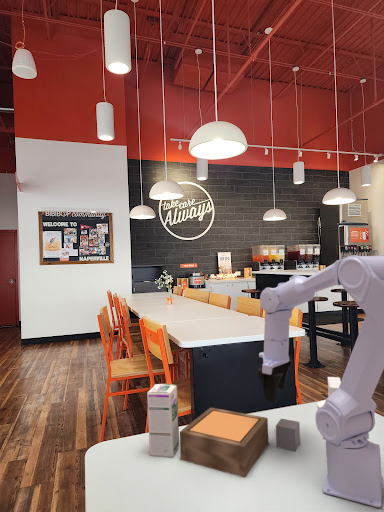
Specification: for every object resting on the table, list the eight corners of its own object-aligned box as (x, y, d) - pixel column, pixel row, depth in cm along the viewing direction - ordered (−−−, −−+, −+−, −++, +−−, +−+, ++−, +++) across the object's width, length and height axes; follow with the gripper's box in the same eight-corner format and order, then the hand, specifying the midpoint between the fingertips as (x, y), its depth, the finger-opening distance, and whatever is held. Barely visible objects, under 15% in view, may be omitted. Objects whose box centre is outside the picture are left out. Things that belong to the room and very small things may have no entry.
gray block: (300, 443, 83) (299, 421, 83) (295, 451, 79) (294, 429, 79) (281, 439, 85) (280, 418, 85) (276, 447, 81) (275, 425, 81)
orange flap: (258, 423, 82) (258, 419, 82) (239, 446, 72) (239, 441, 72) (213, 414, 88) (213, 410, 88) (189, 434, 78) (189, 430, 78)
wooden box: (268, 443, 83) (267, 417, 83) (245, 477, 70) (244, 446, 70) (211, 430, 90) (210, 407, 91) (180, 459, 77) (179, 431, 77)
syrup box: (173, 458, 78) (171, 392, 78) (148, 456, 79) (146, 391, 80) (179, 445, 83) (177, 383, 84) (156, 443, 85) (154, 383, 85)
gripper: (269, 328, 91) (267, 379, 92) (249, 342, 79) (248, 401, 79) (296, 332, 88) (294, 385, 88) (281, 348, 75) (279, 409, 76)
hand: (274, 393), depth 84 cm, fingers open, 7 cm apart
